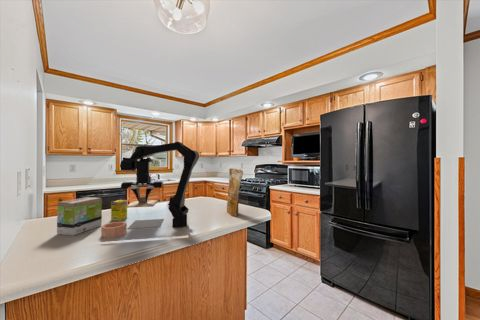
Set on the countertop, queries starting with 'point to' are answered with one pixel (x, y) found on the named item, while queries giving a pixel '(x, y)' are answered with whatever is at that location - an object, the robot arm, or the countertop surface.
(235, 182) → the pancake mix bag
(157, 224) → the mat
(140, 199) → the lid
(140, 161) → the robot arm
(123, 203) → the supplement box
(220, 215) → the countertop surface
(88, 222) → the tea box
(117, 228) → the bowl
